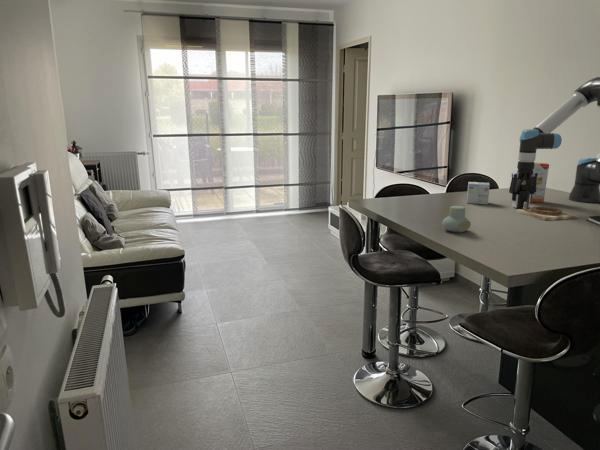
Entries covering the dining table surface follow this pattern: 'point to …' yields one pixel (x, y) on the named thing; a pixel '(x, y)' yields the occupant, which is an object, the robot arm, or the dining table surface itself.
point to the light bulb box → (478, 193)
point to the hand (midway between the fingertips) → (520, 206)
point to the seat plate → (547, 217)
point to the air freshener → (456, 220)
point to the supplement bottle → (523, 195)
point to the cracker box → (540, 182)
